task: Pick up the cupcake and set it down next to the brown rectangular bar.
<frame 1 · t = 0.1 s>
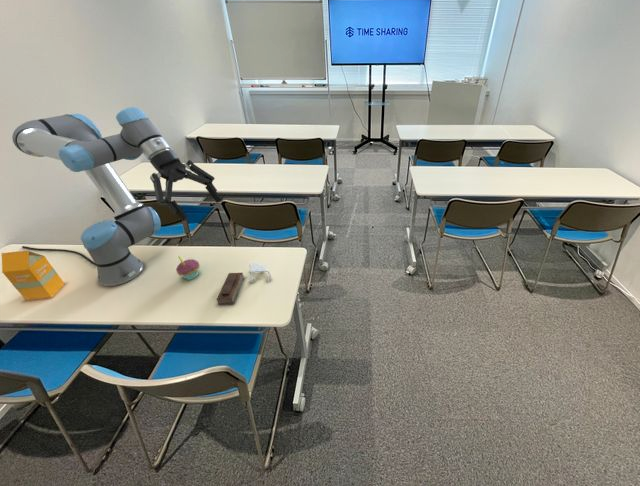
hand: (203, 209, 98), 36 cm above the table, tool tilted 35°, fingers open, 13 cm apart
brown rectangular bar: (232, 290, 115), on the table
orange juice: (46, 292, 116), on the table
origami figure: (260, 277, 121), on the table
cupcake: (191, 276, 123), on the table
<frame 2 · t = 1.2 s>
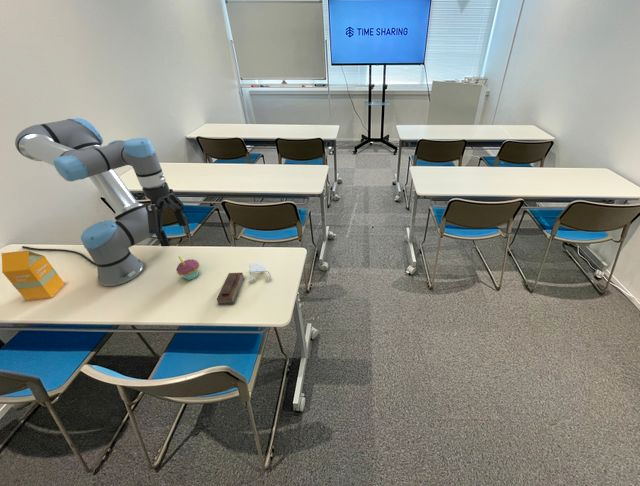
hand: (175, 235, 112), 21 cm above the table, tool pointing down, fingers open, 13 cm apart
nothing on the table moved.
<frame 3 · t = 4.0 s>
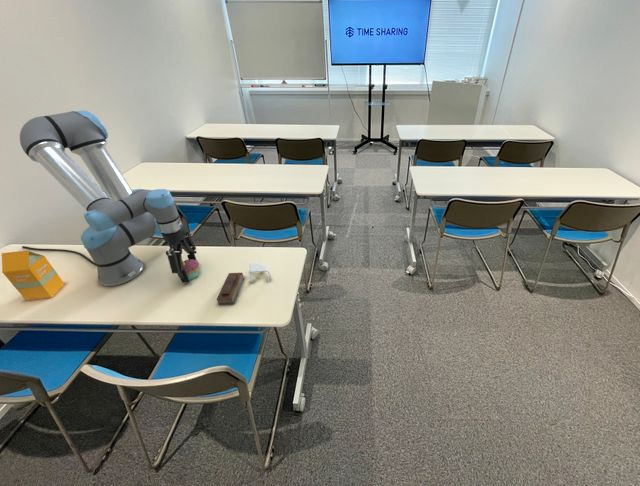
hand: (190, 274, 122), 1 cm above the table, tool pointing down, fingers closed on cupcake, 9 cm apart
cupcake: (191, 275, 123), on the table, touching gripper
everything else where it was.
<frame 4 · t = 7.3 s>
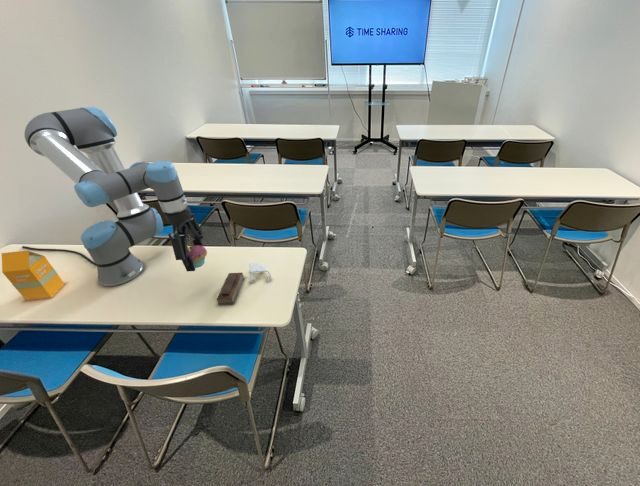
hand: (196, 262, 108), 15 cm above the table, tool pointing down, fingers closed on cupcake, 9 cm apart
cupcake: (197, 264, 108), point 13 cm above the table, touching gripper
everything else where it was.
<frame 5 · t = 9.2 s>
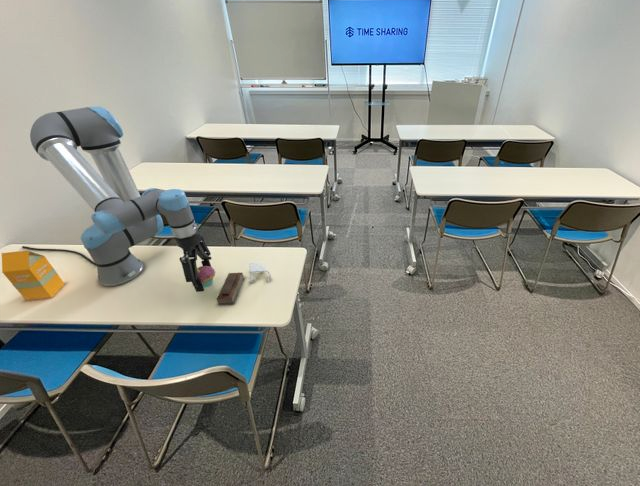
hand: (205, 282, 112), 5 cm above the table, tool pointing down, fingers closed on cupcake, 9 cm apart
cupcake: (206, 283, 113), point 4 cm above the table, touching gripper
everything else where it was.
when the fingers open (1 cm above the table, at t = 10.7 s): cupcake stays where it is, on the table.
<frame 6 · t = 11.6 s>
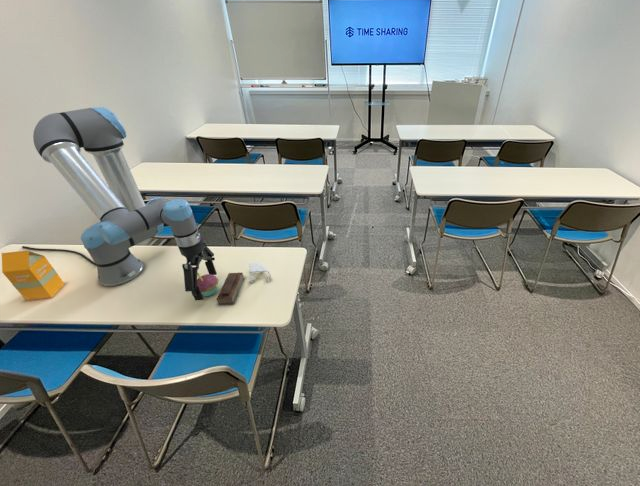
hand: (206, 286, 113), 3 cm above the table, tool pointing down, fingers open, 13 cm apart
cupcake: (209, 292, 115), on the table
everything else where it was.
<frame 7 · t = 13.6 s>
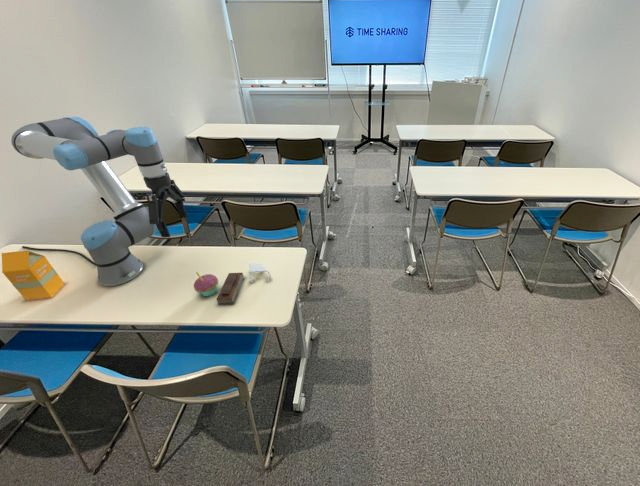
hand: (175, 226, 111), 24 cm above the table, tool pointing down, fingers open, 13 cm apart
nothing on the table moved.
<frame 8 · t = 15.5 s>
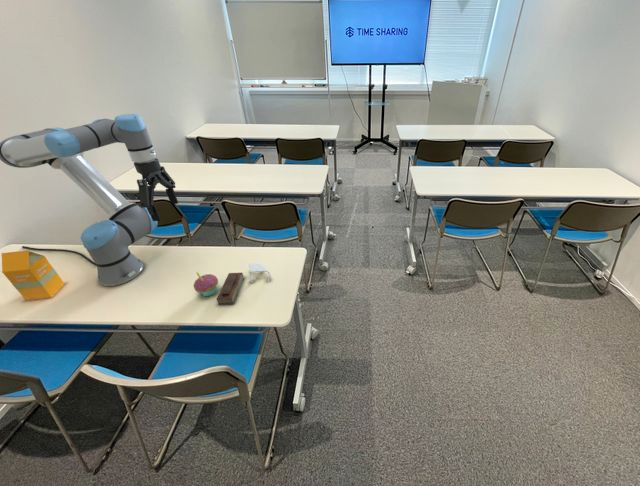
hand: (166, 211, 115), 27 cm above the table, tool pointing down, fingers open, 13 cm apart
nothing on the table moved.
at the end: cupcake 8.9 cm from the brown rectangular bar (horizontally); cupcake tilted 0°; brown rectangular bar moved 0.0 cm from its start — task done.
